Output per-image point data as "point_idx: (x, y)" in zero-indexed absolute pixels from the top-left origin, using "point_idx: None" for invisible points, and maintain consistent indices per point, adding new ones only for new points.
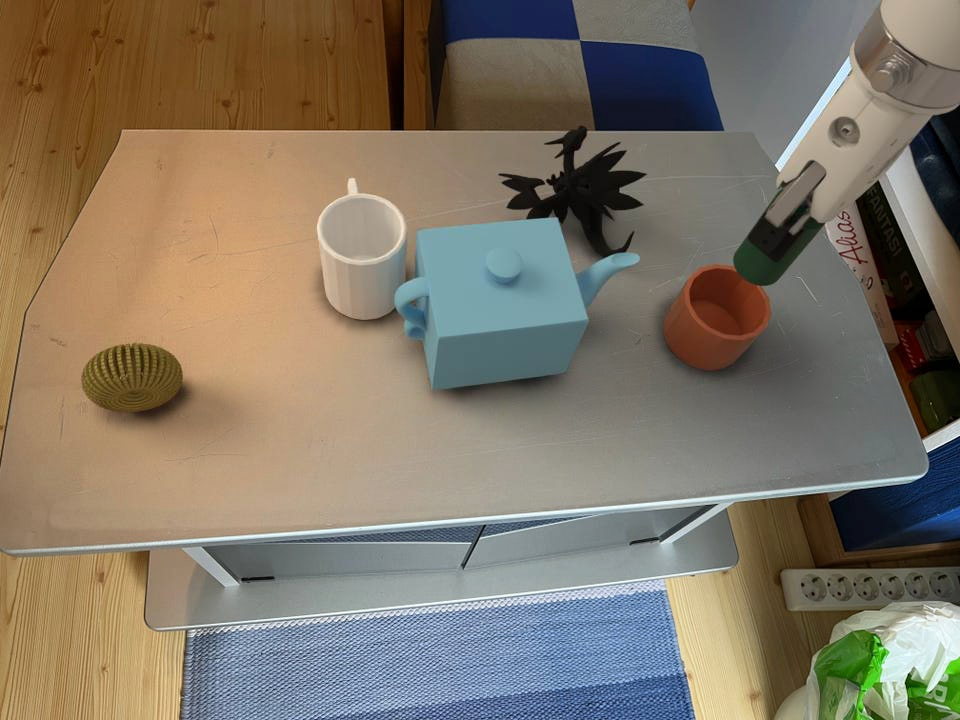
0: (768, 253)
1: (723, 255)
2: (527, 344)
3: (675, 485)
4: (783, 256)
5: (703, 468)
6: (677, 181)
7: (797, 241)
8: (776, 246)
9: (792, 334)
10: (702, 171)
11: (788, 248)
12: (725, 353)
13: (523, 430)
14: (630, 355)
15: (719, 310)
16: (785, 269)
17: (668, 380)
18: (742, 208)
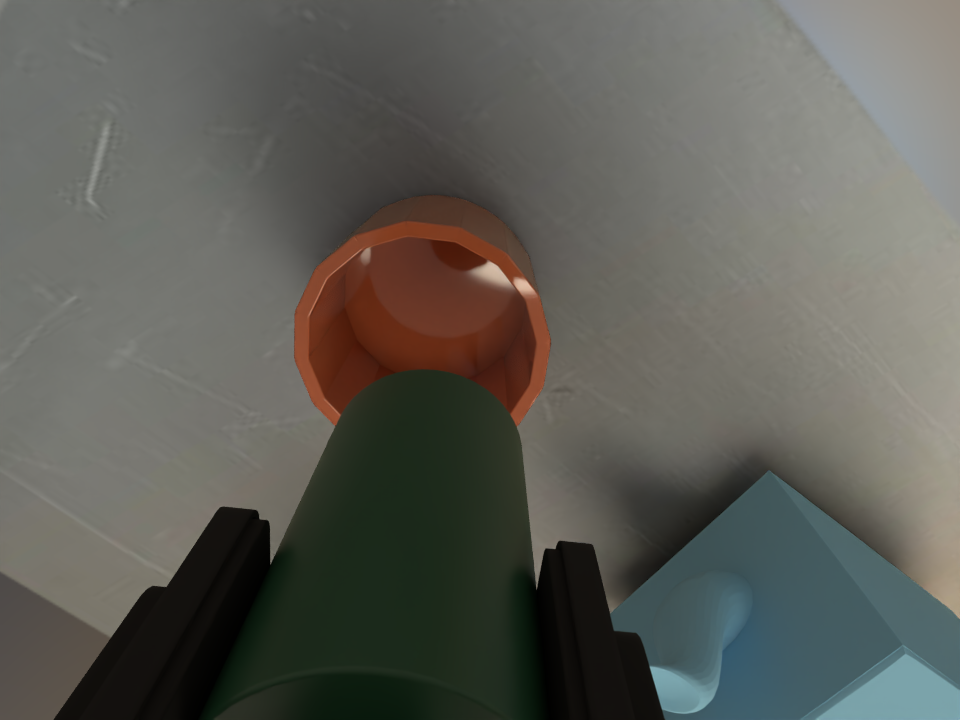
0: (636, 634)
1: (211, 376)
2: (943, 646)
3: (841, 120)
4: (580, 568)
5: (760, 90)
6: (142, 549)
7: (507, 617)
8: (641, 680)
9: (252, 119)
10: (67, 528)
11: (615, 641)
12: (513, 246)
13: (898, 439)
14: (604, 383)
15: (358, 306)
16: (448, 418)
17: (602, 288)
18: (60, 414)
